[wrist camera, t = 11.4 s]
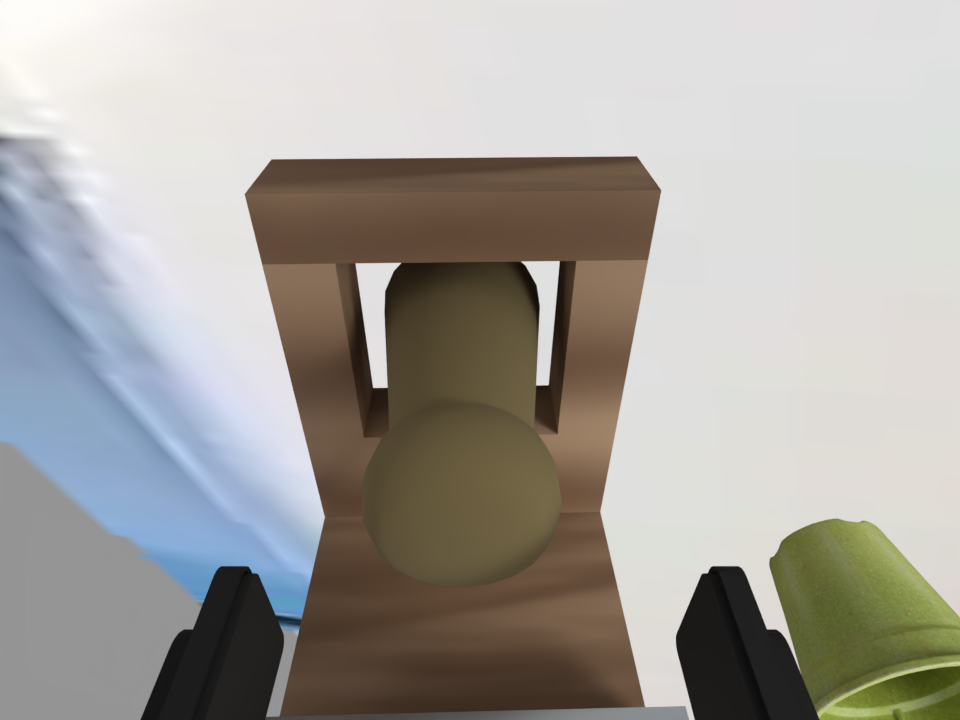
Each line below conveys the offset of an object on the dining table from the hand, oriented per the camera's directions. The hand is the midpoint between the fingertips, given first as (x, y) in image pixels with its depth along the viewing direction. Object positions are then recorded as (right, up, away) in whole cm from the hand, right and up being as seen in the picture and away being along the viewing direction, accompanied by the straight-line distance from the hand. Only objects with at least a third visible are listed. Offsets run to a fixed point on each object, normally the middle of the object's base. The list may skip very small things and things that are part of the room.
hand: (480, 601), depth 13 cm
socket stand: (-1, +5, +12) cm, 13 cm away
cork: (-1, +7, +10) cm, 13 cm away
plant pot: (+19, -5, +21) cm, 29 cm away
